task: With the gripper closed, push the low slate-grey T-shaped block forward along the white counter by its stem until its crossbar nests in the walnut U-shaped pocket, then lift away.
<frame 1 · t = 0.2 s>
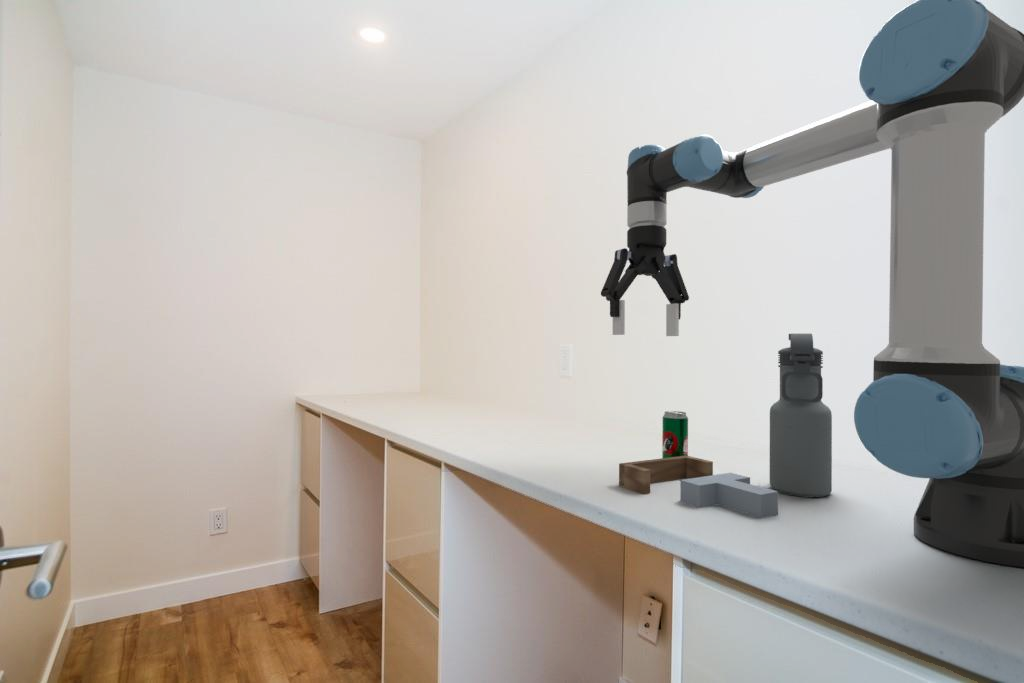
hand: (646, 335, 106), 28 cm above the table, fingers open, 13 cm apart
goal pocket: (688, 490, 95), on the table
water bottle: (799, 492, 96), on the table
t block: (735, 506, 86), on the table
soda can: (674, 471, 111), on the table
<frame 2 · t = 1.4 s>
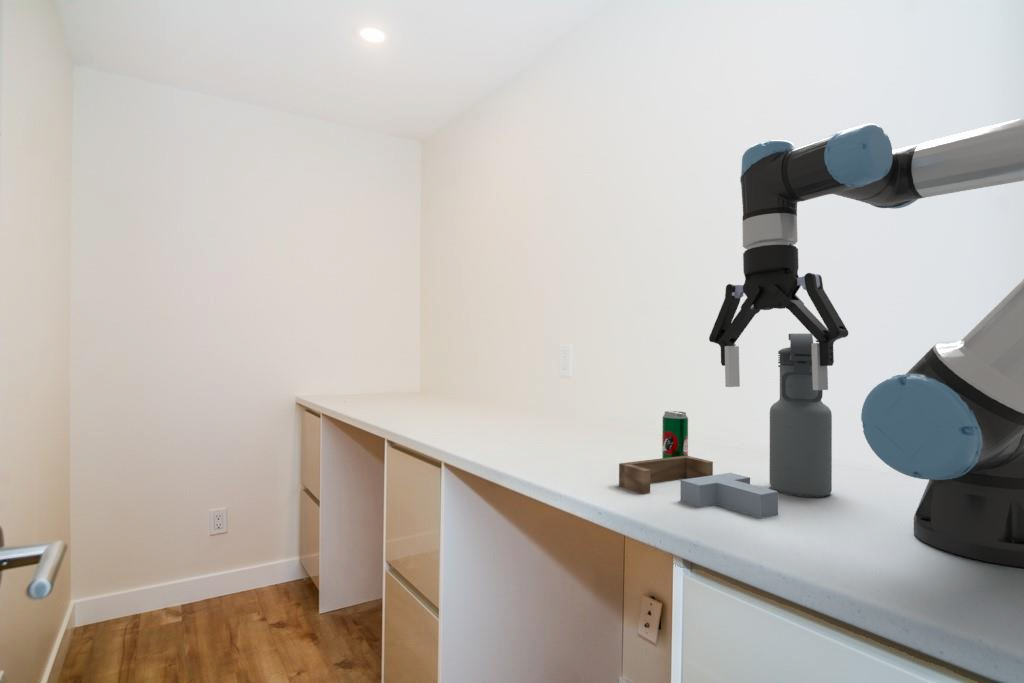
hand: (773, 388, 81), 19 cm above the table, fingers open, 13 cm apart
nothing on the table moved.
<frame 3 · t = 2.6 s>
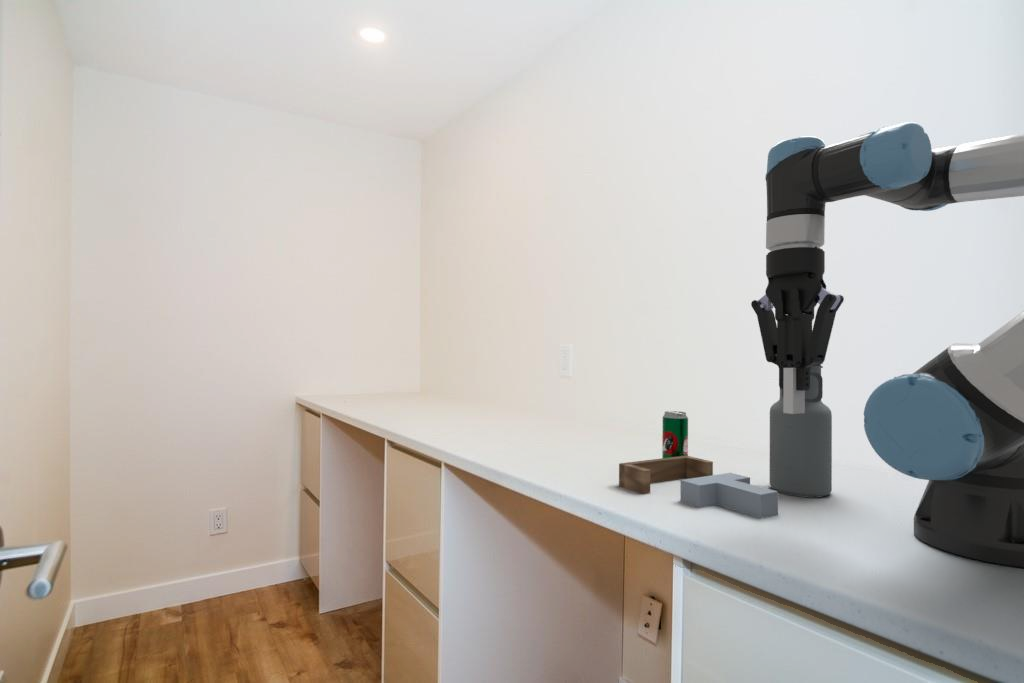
hand: (794, 412, 78), 16 cm above the table, fingers closed
nothing on the table moved.
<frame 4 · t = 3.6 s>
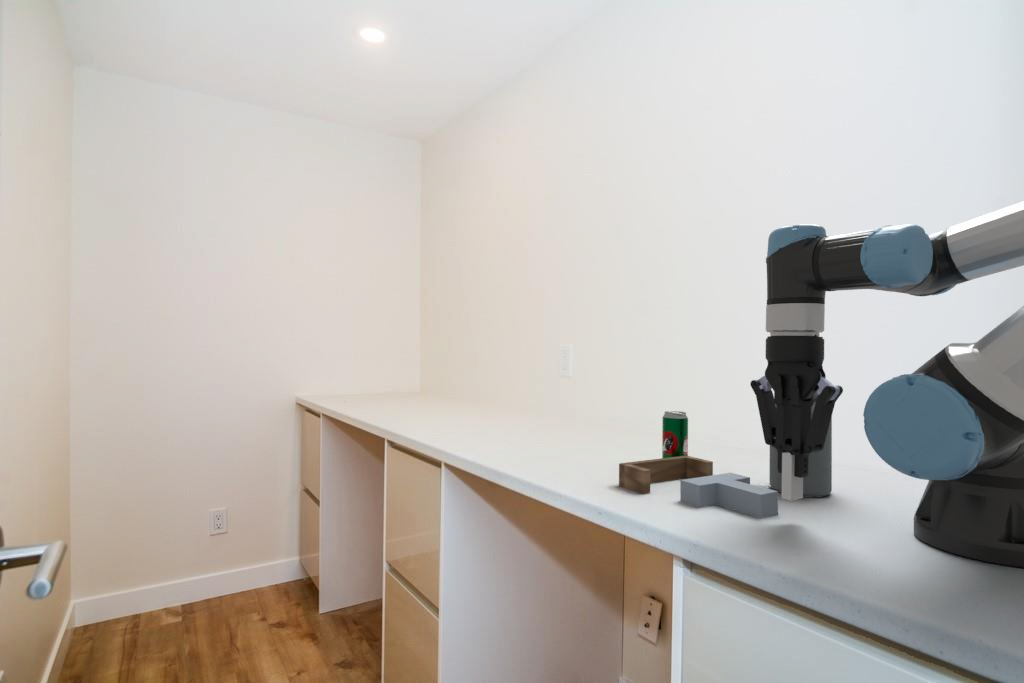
hand: (792, 497, 78), 4 cm above the table, fingers closed
nothing on the table moved.
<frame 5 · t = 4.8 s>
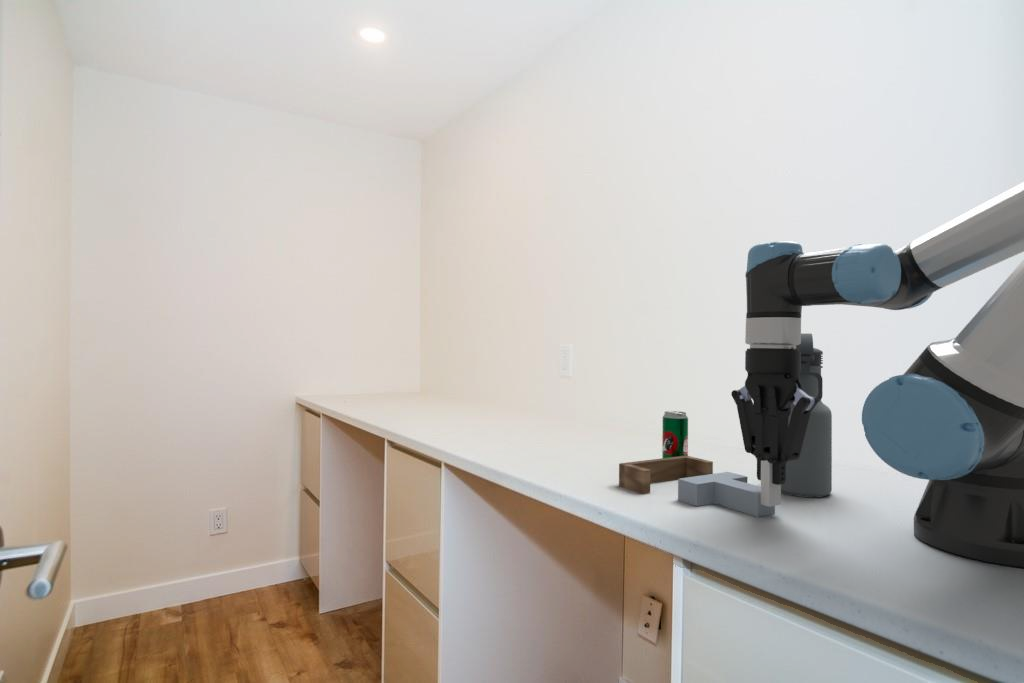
hand: (770, 504, 81), 2 cm above the table, fingers closed
t block: (733, 504, 87), on the table, touching gripper
everything else where it was.
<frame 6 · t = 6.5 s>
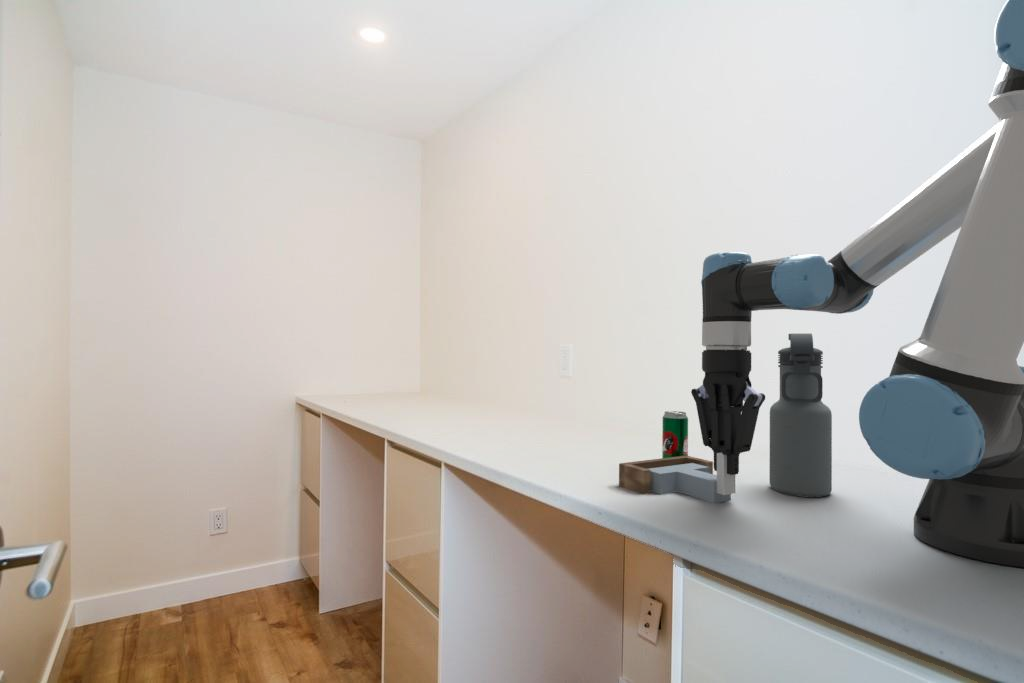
hand: (726, 492, 88), 2 cm above the table, fingers closed
t block: (694, 492, 94), on the table, touching gripper
everything else where it was.
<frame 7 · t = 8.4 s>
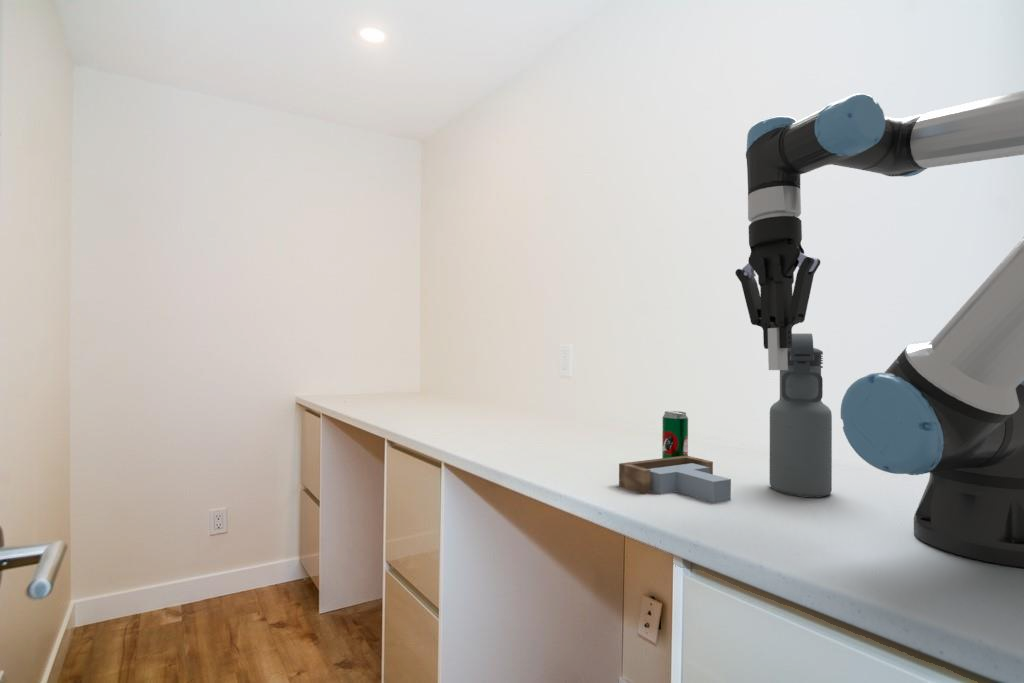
hand: (778, 369, 84), 22 cm above the table, fingers closed
t block: (694, 493, 94), on the table
everything else where it was.
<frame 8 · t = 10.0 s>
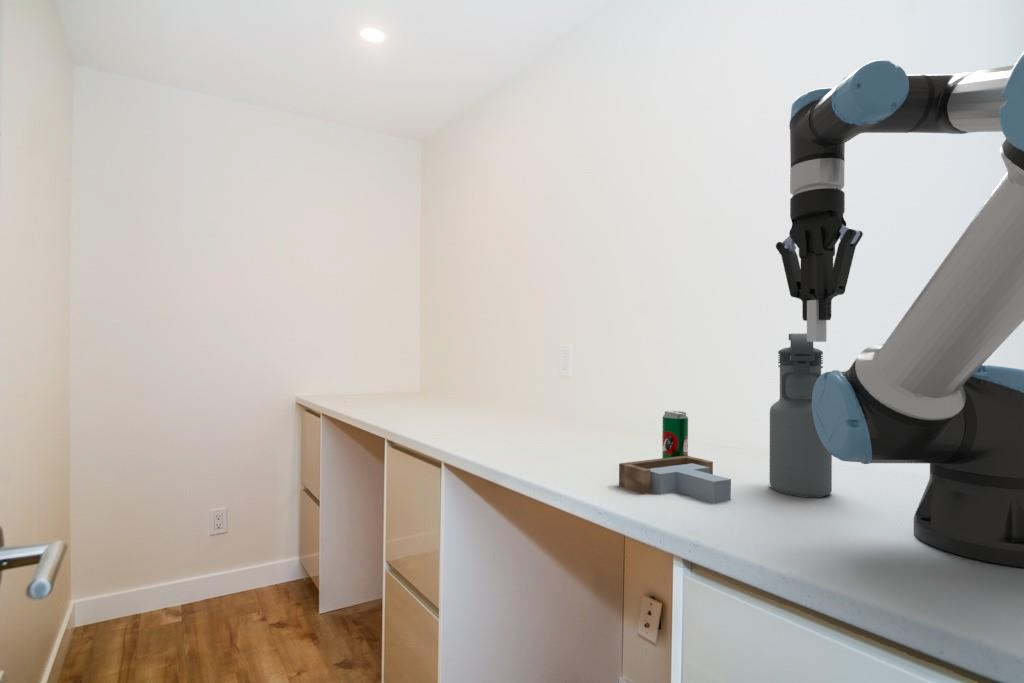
hand: (816, 341, 85), 26 cm above the table, fingers closed
nothing on the table moved.
at the end: t block 1.6 cm off-centre on the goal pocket, point 0.0 cm above the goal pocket's base; t block moved 8.6 cm from its start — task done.
